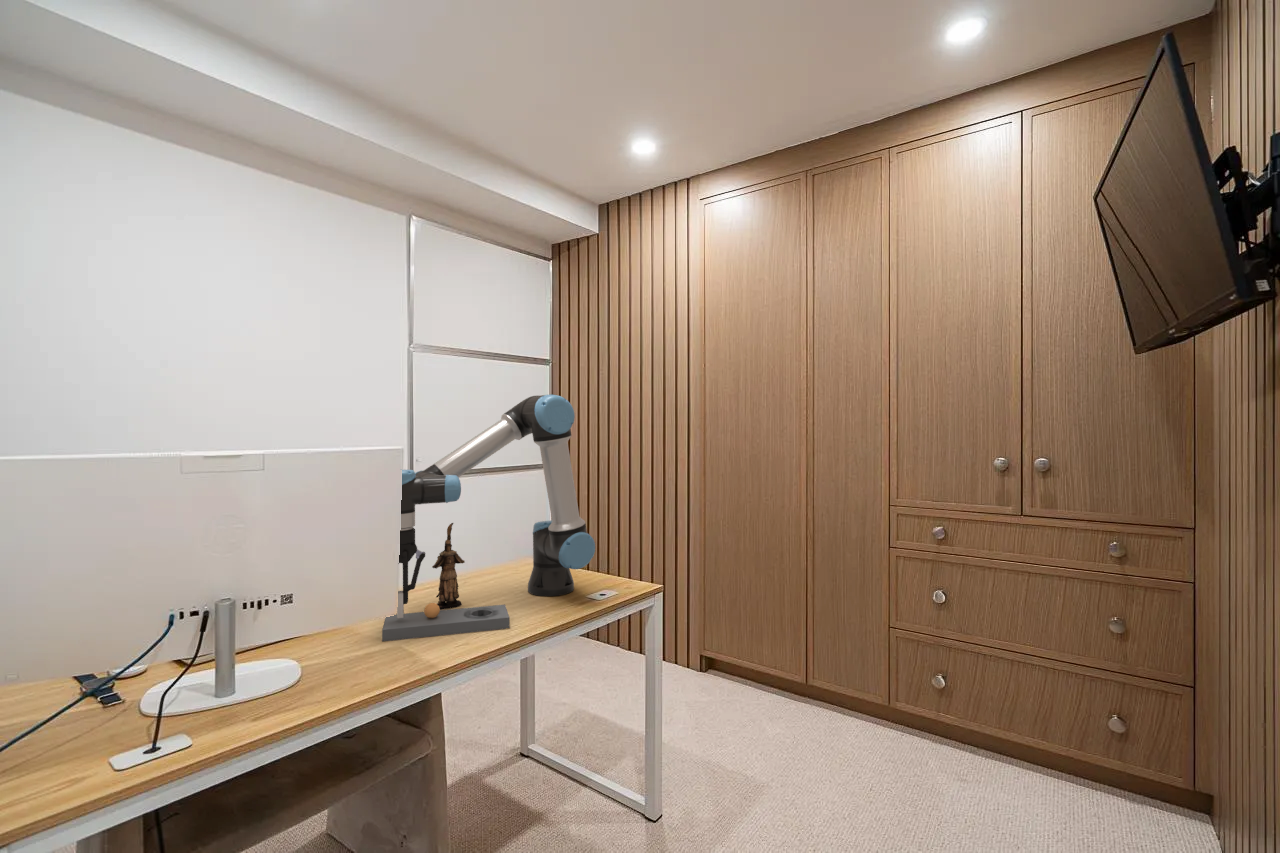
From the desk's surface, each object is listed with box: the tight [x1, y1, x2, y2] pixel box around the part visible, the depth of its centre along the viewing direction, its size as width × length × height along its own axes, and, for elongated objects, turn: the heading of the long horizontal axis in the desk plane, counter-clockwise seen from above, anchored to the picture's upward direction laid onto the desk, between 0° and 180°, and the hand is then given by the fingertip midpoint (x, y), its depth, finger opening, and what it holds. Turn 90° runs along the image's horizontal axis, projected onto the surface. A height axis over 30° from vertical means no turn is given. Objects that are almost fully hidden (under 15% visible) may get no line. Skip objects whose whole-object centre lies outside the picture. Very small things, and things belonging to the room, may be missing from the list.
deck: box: [381, 604, 511, 643], centre depth 167 cm, size 32×12×3 cm, turn 108°
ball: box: [423, 602, 440, 618], centre depth 166 cm, size 4×4×4 cm
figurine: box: [431, 522, 466, 610], centre depth 185 cm, size 6×10×25 cm
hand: (400, 616), depth 163 cm, fingers closed
